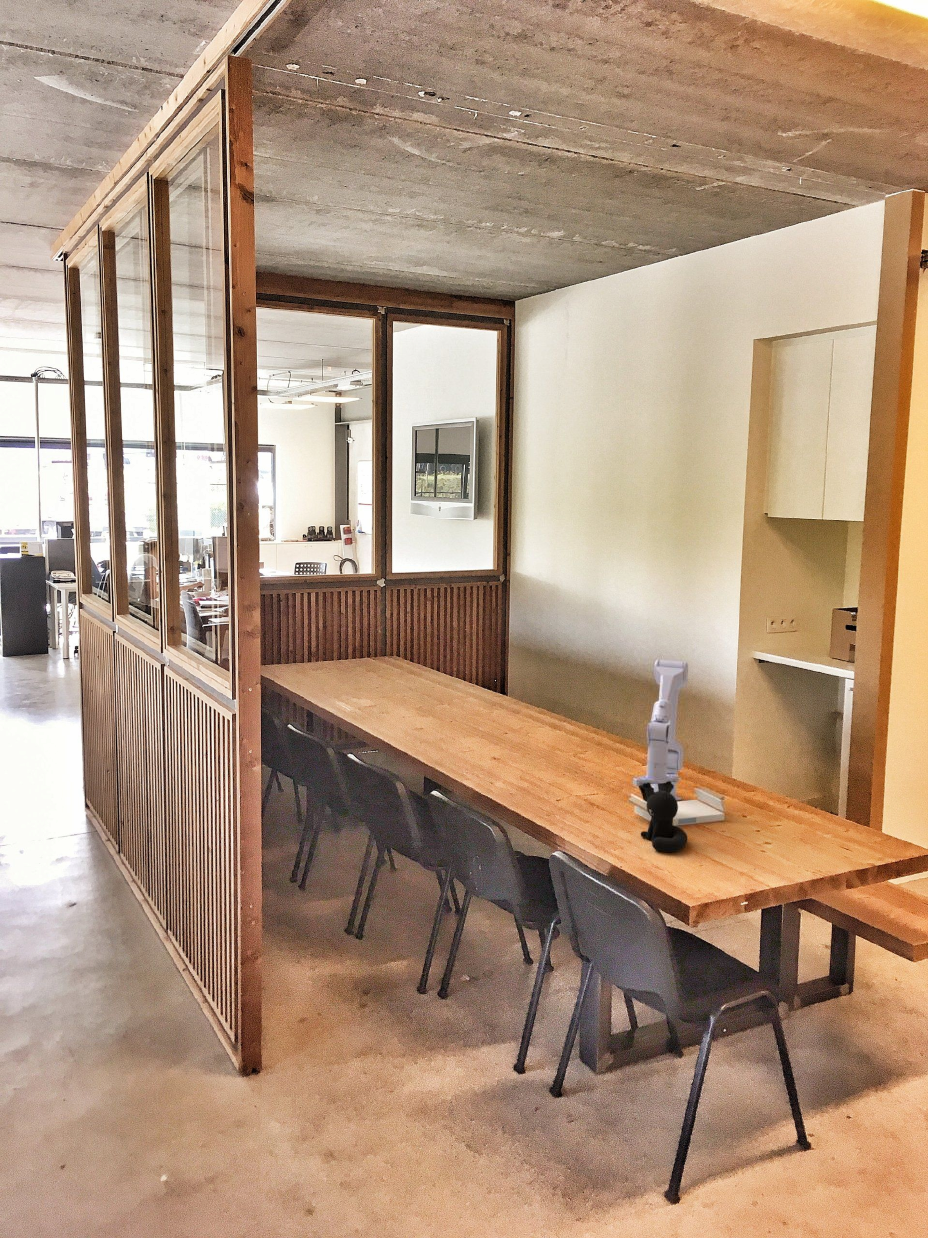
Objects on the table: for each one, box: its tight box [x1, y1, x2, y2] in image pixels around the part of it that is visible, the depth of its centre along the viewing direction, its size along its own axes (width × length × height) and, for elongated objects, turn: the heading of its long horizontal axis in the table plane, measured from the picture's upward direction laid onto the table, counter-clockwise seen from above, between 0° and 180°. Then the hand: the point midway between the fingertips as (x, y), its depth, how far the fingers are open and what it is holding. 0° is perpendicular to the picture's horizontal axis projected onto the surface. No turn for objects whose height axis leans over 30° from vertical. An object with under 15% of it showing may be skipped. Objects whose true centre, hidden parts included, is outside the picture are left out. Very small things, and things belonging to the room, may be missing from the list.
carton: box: [633, 799, 725, 827], centre depth 300 cm, size 14×22×2 cm, turn 112°
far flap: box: [694, 786, 726, 813], centre depth 304 cm, size 13×4×2 cm
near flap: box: [628, 793, 648, 813], centre depth 295 cm, size 13×4×2 cm
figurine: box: [640, 785, 688, 853], centre depth 276 cm, size 16×14×15 cm
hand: (654, 807), depth 297 cm, fingers open, 4 cm apart
